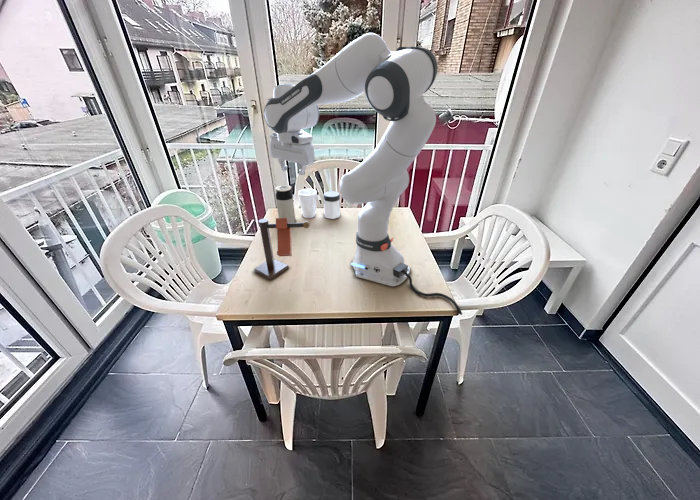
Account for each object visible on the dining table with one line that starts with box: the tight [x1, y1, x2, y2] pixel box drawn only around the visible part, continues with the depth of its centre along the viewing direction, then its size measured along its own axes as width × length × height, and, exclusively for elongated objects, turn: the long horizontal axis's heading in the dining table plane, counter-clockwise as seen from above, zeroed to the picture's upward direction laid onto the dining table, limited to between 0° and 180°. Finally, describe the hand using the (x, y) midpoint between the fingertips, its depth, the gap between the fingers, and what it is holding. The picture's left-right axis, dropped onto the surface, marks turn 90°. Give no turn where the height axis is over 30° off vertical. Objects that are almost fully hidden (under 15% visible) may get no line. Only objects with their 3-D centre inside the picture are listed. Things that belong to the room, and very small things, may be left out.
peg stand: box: [253, 218, 311, 281], centre depth 104 cm, size 22×13×21 cm, turn 95°
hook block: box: [275, 217, 293, 257], centre depth 100 cm, size 8×4×12 cm
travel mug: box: [274, 184, 296, 223], centre depth 139 cm, size 8×8×18 cm
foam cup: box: [297, 188, 318, 219], centre depth 147 cm, size 10×9×13 cm
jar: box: [323, 190, 341, 220], centre depth 147 cm, size 9×8×12 cm
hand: (293, 172), depth 112 cm, fingers open, 8 cm apart
